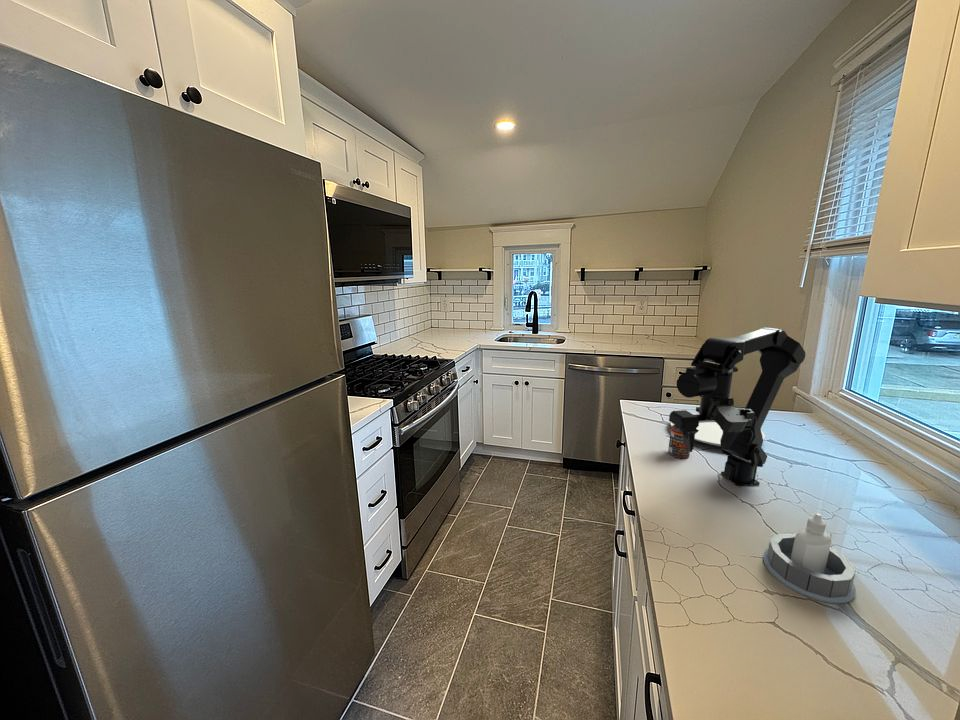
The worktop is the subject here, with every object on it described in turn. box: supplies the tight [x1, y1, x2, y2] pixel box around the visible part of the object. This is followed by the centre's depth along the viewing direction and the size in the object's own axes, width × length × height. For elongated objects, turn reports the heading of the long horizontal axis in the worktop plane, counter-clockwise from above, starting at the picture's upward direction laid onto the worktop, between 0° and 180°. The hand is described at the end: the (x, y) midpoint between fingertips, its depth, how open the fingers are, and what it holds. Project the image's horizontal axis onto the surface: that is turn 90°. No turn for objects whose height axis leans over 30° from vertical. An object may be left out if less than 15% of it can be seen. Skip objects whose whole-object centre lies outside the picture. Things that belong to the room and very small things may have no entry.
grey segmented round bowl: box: [763, 533, 857, 605], centre depth 69 cm, size 13×13×4 cm
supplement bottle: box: [667, 425, 691, 459], centre depth 114 cm, size 6×6×11 cm
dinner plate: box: [669, 413, 766, 447], centre depth 128 cm, size 28×27×3 cm
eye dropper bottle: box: [790, 512, 832, 574], centre depth 68 cm, size 4×6×12 cm
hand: (707, 450), depth 92 cm, fingers open, 9 cm apart
